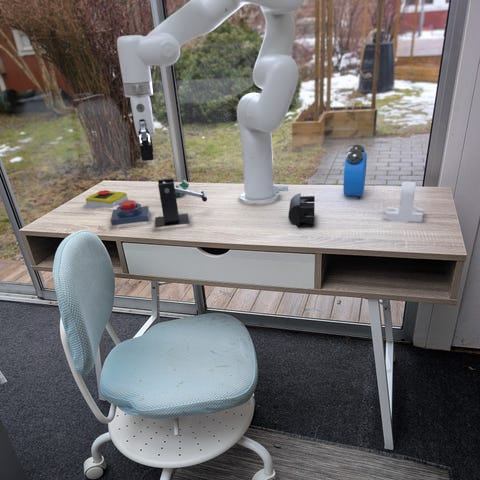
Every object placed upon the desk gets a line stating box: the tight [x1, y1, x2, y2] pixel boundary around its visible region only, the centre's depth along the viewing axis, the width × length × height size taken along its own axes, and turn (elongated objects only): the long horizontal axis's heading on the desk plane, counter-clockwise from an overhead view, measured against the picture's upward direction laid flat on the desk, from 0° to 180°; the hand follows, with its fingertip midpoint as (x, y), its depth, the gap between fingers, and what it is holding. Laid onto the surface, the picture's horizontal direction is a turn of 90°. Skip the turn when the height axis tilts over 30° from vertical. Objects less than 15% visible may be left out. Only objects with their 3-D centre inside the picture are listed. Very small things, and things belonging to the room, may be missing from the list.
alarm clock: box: [342, 143, 368, 200], centre depth 148 cm, size 13×6×15 cm, turn 164°
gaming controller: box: [175, 179, 190, 197], centre depth 164 cm, size 9×4×6 cm
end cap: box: [288, 192, 316, 229], centre depth 135 cm, size 10×7×7 cm
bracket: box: [154, 177, 190, 228], centre depth 139 cm, size 10×8×13 cm
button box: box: [110, 202, 150, 226], centre depth 146 cm, size 11×9×4 cm
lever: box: [163, 182, 208, 203], centre depth 138 cm, size 13×6×2 cm, turn 98°
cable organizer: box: [384, 181, 425, 223], centre depth 131 cm, size 5×10×10 cm, turn 70°
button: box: [121, 199, 137, 210], centre depth 144 cm, size 4×4×2 cm
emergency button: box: [83, 189, 129, 210], centre depth 160 cm, size 9×4×15 cm
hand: (147, 156), depth 135 cm, fingers open, 9 cm apart
